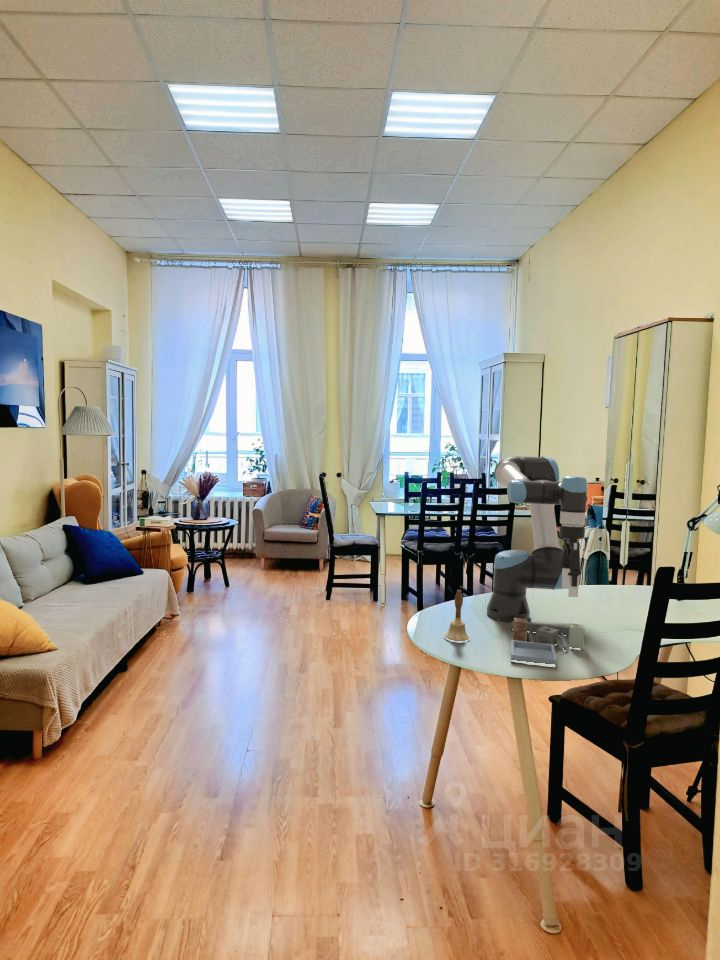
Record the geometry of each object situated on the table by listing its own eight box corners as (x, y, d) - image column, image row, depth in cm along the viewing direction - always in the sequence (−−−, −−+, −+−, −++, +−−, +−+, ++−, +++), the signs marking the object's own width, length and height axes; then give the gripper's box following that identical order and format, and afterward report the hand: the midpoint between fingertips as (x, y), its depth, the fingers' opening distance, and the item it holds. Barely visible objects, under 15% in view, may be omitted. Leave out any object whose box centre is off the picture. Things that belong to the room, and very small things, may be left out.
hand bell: (472, 643, 198) (475, 593, 196) (446, 643, 197) (449, 593, 196) (466, 634, 206) (469, 586, 204) (441, 634, 205) (443, 586, 204)
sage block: (569, 649, 196) (570, 627, 195) (568, 644, 200) (569, 623, 199) (582, 650, 195) (584, 628, 194) (581, 646, 199) (582, 624, 198)
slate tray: (510, 662, 183) (511, 654, 183) (510, 647, 195) (511, 639, 195) (556, 668, 180) (556, 659, 180) (552, 652, 193) (553, 644, 192)
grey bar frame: (511, 645, 197) (512, 636, 197) (511, 629, 212) (511, 620, 212) (585, 654, 192) (586, 644, 192) (579, 636, 208) (580, 627, 207)
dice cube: (535, 644, 199) (536, 629, 198) (542, 640, 203) (543, 625, 202) (550, 649, 196) (551, 633, 195) (557, 645, 199) (558, 629, 199)
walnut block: (513, 642, 200) (514, 621, 199) (512, 638, 204) (514, 617, 203) (526, 644, 199) (527, 622, 198) (525, 640, 203) (527, 618, 202)
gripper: (592, 529, 186) (589, 601, 187) (577, 522, 211) (574, 586, 211) (566, 528, 187) (563, 599, 188) (554, 521, 212) (551, 584, 213)
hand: (569, 592), depth 200 cm, fingers open, 13 cm apart
